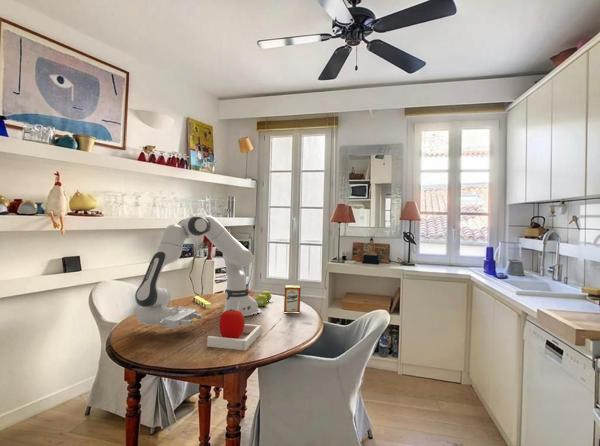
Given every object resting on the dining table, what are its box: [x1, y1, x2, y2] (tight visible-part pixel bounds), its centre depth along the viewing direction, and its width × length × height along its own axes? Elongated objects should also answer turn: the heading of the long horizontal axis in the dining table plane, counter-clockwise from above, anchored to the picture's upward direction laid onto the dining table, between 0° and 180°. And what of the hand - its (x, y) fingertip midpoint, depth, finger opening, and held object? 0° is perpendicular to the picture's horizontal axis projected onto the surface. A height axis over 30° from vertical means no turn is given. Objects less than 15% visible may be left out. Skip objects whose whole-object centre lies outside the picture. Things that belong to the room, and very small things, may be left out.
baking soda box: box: [283, 284, 301, 313], centre depth 202 cm, size 10×6×16 cm
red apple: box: [218, 309, 246, 339], centre depth 152 cm, size 13×11×14 cm
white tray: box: [206, 323, 262, 351], centre depth 152 cm, size 18×22×4 cm
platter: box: [193, 295, 212, 310], centre depth 211 cm, size 32×32×3 cm
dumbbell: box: [255, 290, 272, 307], centre depth 220 cm, size 16×8×7 cm, turn 172°
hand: (196, 319), depth 155 cm, fingers open, 8 cm apart
